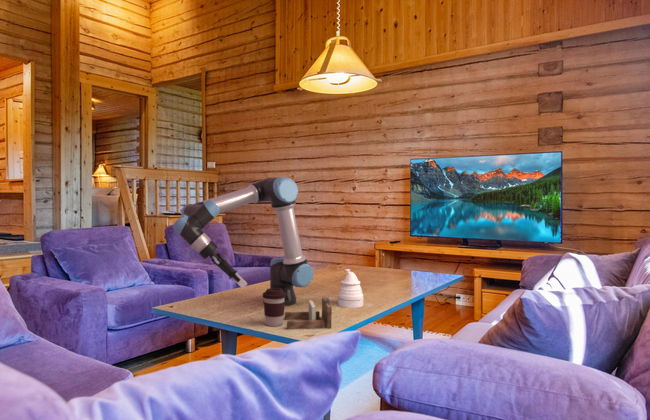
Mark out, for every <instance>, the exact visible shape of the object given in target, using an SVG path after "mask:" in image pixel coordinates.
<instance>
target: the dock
mask: <svg viewBox="0 0 650 420" xmlns="http://www.w3.org/2000/svg"><path fill="white" fill-rule="evenodd" d="M332 310H333V309H332V305H331V300H330V298H329V297H322V298H321V316H320V311H317V310H316V320H309V311H286V312H285V311H284V320H285V321H286V329H287V330H304V329H306V330H307V329H325V326H326V328H327V329H332V315H333V313H332ZM320 317H321V319H320ZM288 320H289V321H288Z"/></svg>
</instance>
